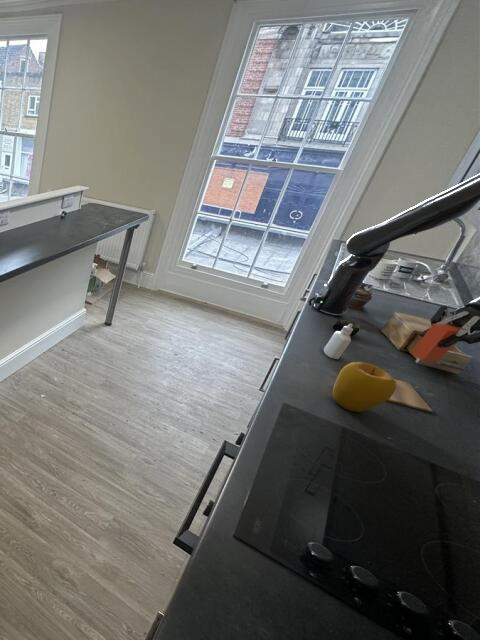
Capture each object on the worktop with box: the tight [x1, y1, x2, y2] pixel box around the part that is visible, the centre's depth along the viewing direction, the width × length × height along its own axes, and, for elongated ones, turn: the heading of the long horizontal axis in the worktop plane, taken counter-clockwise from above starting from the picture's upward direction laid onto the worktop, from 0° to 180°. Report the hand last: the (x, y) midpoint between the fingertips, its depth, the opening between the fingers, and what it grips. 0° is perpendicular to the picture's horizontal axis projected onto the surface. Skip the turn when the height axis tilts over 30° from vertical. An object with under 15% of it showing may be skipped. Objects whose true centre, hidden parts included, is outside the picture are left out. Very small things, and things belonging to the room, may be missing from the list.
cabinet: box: [381, 311, 457, 354], centre depth 142 cm, size 15×12×8 cm
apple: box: [332, 361, 396, 413], centre depth 107 cm, size 11×11×13 cm
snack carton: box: [410, 324, 461, 361], centre depth 110 cm, size 4×6×10 cm, turn 96°
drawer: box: [405, 333, 473, 374], centre depth 132 cm, size 18×11×6 cm, turn 156°
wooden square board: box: [386, 378, 434, 413], centre depth 118 cm, size 12×14×1 cm
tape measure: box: [332, 319, 360, 337], centre depth 147 cm, size 7×7×4 cm
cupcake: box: [346, 281, 374, 310], centre depth 169 cm, size 10×10×10 cm
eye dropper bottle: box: [323, 324, 353, 360], centre depth 130 cm, size 4×6×12 cm
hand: (431, 341), depth 110 cm, fingers closed on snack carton, 3 cm apart
